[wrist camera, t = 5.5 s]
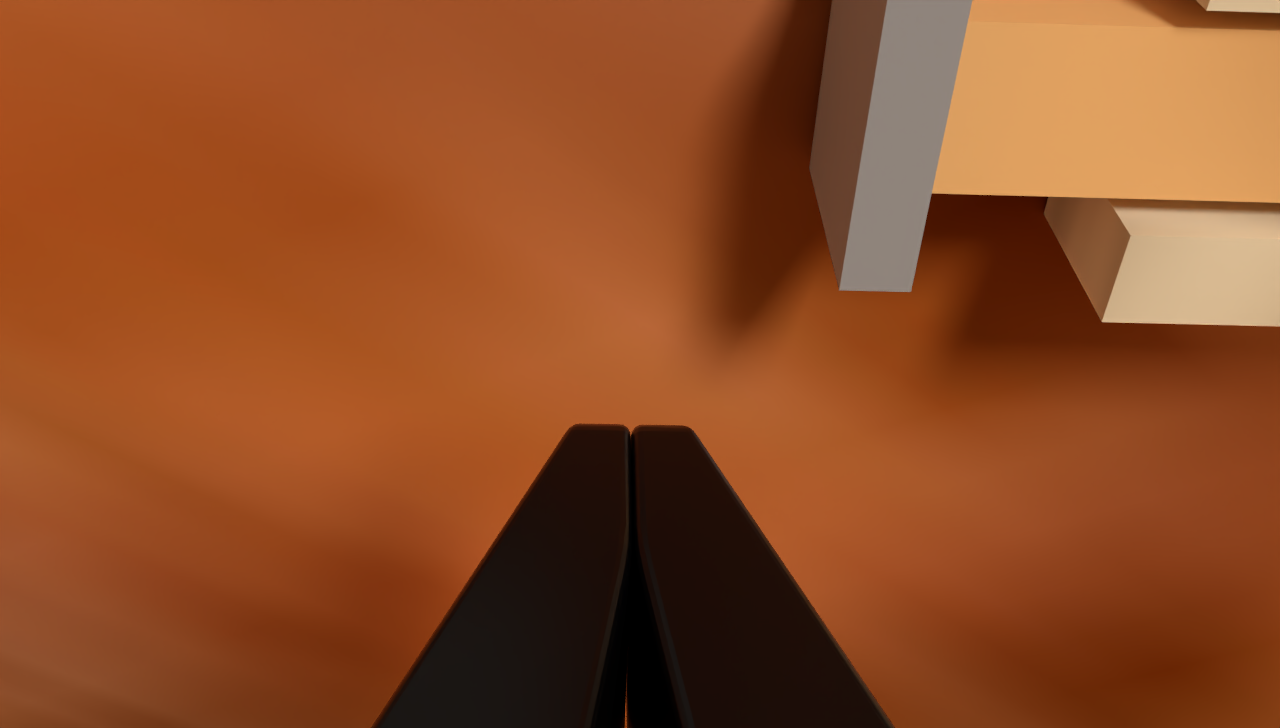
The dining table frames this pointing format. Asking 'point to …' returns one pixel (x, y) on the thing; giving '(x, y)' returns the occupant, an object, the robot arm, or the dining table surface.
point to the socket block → (1175, 250)
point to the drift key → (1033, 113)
